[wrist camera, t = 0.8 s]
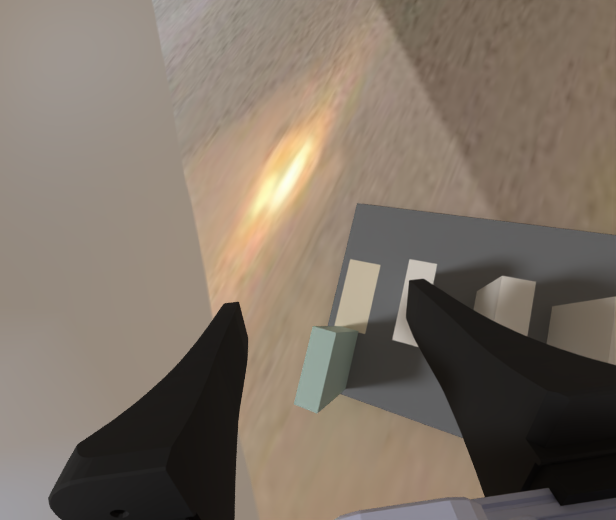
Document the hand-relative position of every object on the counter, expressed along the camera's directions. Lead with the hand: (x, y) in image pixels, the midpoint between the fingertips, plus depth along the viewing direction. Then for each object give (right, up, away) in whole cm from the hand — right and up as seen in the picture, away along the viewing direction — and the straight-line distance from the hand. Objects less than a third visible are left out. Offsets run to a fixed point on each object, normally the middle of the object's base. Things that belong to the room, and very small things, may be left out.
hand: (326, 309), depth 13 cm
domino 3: (+13, -3, +11) cm, 17 cm away
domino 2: (+8, -2, +13) cm, 15 cm away
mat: (+13, -3, +11) cm, 17 cm away
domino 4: (+17, -4, +9) cm, 20 cm away
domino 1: (+2, -6, +14) cm, 15 cm away
